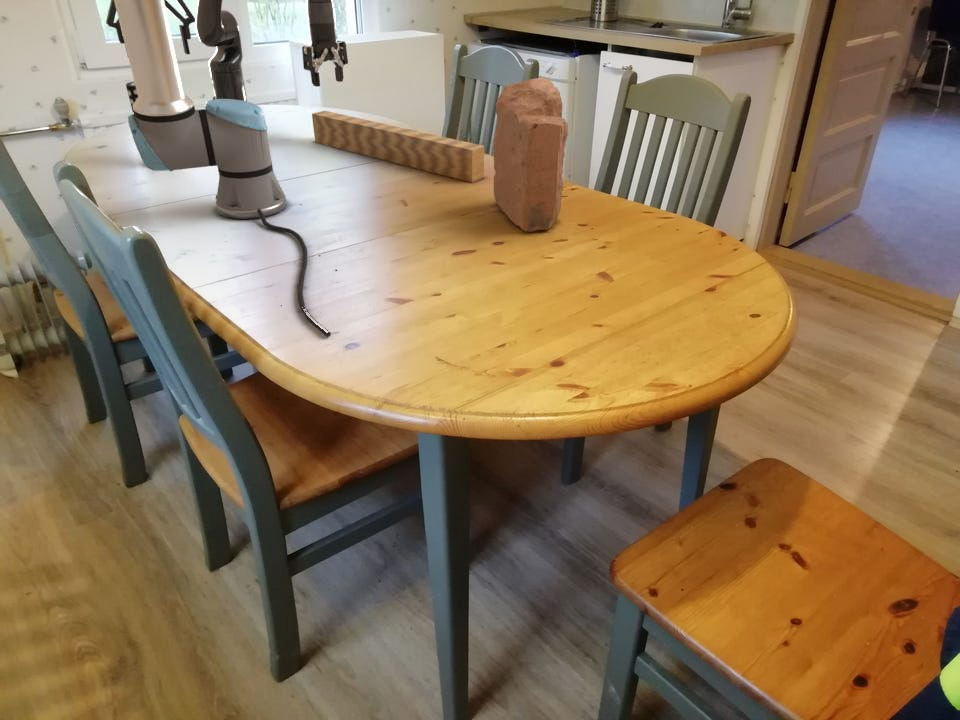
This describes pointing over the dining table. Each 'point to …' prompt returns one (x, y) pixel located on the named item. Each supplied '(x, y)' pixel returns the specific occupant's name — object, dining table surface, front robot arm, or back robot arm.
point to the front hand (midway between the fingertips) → (159, 55)
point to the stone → (529, 153)
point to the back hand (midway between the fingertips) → (328, 83)
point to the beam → (400, 145)
